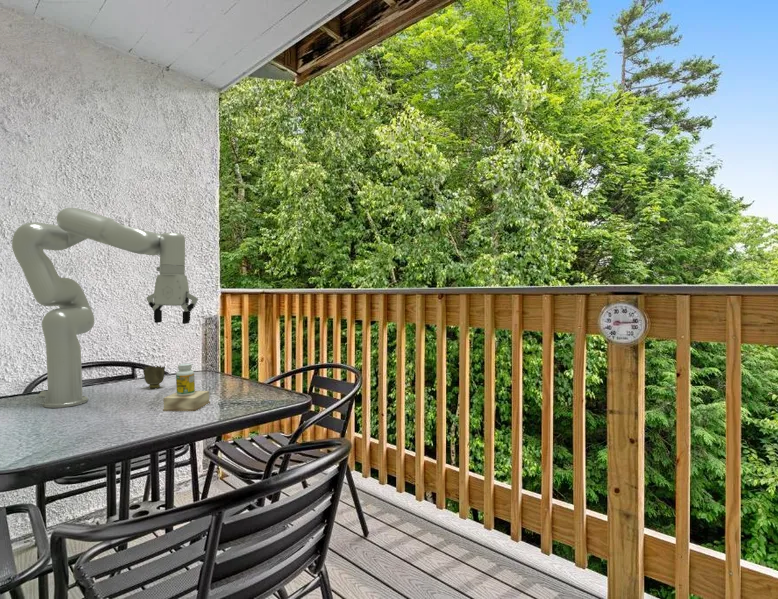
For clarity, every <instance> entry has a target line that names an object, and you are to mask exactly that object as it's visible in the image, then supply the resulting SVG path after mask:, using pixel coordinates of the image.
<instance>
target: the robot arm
mask: <svg viewBox="0 0 778 599" xmlns="http://www.w3.org/2000/svg"><path fill="white" fill-rule="evenodd" d="M56 223H57V225H55V224H50V223H43V222H34V221H33V222H27V223H24V224H22V225H21V226H19V227H18V228H17V229H16V230H15V232H14V234H13V236H12V240H11V245H12V246H11V248H12V252H13V254H14V256H15V259H16V260H17V262H18V264H19V266H20V268H21V269H22V273H23V274H24V277H25V279H26V282H27V283H28V286H29V288H30V291H31V294H32V295H33V297H34V299H35V301H36V302H37V303H38V304H39V305H41V306H44V307H58V308H54V309H52V310H49V311H48V312H47V313H46V314H45V315H44V316H43V318H42V321H41V328H42V332H43V333H42V334H43V336H44V341H45V351H46V354H45V356H46V375H47V390H41V391H40V392H39V393H38V395H37V398H39V399H43V398H44V401H43V402H42V407H44V408H49V409H50V408H51V409H52V408H53V409H55V408H56V409H57V408H68V407H72V406H73V407H74V406H79V405H82V403H83V404H85V403H87V402H88V401H89V397H88V396H86V395H83V374H82V373H83V372H82V371H83V370H82V369H83V368H82V348H81V343H80V341H79V338H78V335H82V334H87V333H88V332H90V331H91V330H92V328H93V327H94V325H95V315H94V312H93V310H92V308H91V305H90V303H89V301H88V298H87V297H86V294H85V292H84V290H83V288H82V287H81V285H80V284H79V282H77V281H75V280H74V279H72V278H69V277H60V275H59V274H58V272H57V269H56V268H55V265H54V263H53V261H52V260H51V259H50V257H49V256H47V254H46V253H45V251H44V250H47V251H64V250H67V249H69V248H71V247H74V246H75V245H77V244H80V243H82V242H84V241H85V240H87V239H88V240H92V241H95V242H99V243H101V244H104V245H107V246H111V247H114V248H117V249H120V250H123V251H127V252H130V253H134V254H137V255H146V256H159V266H157V267H156V271H157V272H159V274H157V276H156V278H155V282H154V283H155V284H154V290H153V291H154V292H153V293H152V294H149V295H147V296H146V298H145V299H146V301H147V303H148V306H149V307H151V310H152V311H153V320H154V324H158V323H162V321H163V317H162V316H163V311H162V310H161V309H162V308H163V307H164V306H173V307H174V306H175V307H177V306H179V307H181V309H183V311H182V324H184V325H187V324H190V321H191V312H192V311H193V309H194V308H195V307H196V304H197V303H198V301H199V298H198V297H196V296H195V295H193V294H191V293H190V289H189V281H188V277H187V275H185V274H186V270H185V269H186V238H185V235H184V234H182V233H178V232H163V233H158V232H151V231H148V230H143V229H138V228H134V227H131V226H128V225H125V224H122V223H118V222H116V220H115V219H113V218H110V217H107V216H104V215H100V214H97V213H93V212H92V211H89V210H86V209H85V210H84V209H80V208H77V207H67V208H63V209H61V210H60V211H59V212H58V213H57V215H56ZM190 300H191V302H190ZM189 302H190V304H189Z"/></svg>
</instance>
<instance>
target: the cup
mask: <svg viewBox="0 0 778 599" xmlns="http://www.w3.org/2000/svg"><path fill="white" fill-rule="evenodd" d="M165 369H166V367H165V365H163V366H161V365H157V366H155V365H154V366H153V367H152V366H150V365H149V366H145V368H144V367H143V368H142V371H143V378H144V381H145V383H146V384H148V388H149V389H151V390H155V388H157V389H160V387H161V385H160V384H161V383H162V382H163V381H164V377H165V371H166V370H165Z"/></svg>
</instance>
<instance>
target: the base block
mask: <svg viewBox="0 0 778 599" xmlns="http://www.w3.org/2000/svg"><path fill="white" fill-rule="evenodd" d="M162 400H163V409H162V411H163V412H197V411H199V410H200V409H202V408H204V407H206V406H207V405H206V404H208V403H209V404H211V401H210V390H195V393H194V394H193V395H189V396H178V395H177V391H176V392H173V393H172V394H169V395H167V396H164V397H163V399H162ZM209 404H208V405H209ZM205 405H206V406H205ZM203 406H204V407H203ZM201 407H202V408H201ZM198 409H199V410H198ZM196 410H197V411H196Z"/></svg>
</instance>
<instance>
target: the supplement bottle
mask: <svg viewBox="0 0 778 599" xmlns="http://www.w3.org/2000/svg"><path fill="white" fill-rule="evenodd" d="M192 366H193V365H192V363H179V364H178V365H177V370H178V371H176V373H175V377H176V378H175V381H176V392H177V395H178V396H189V395H193V394H194V393H195V391H196V387H195V386H196V383H195V381H196V380H195V379H196V378H195V371H194V370H192V369H193V367H192Z"/></svg>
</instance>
